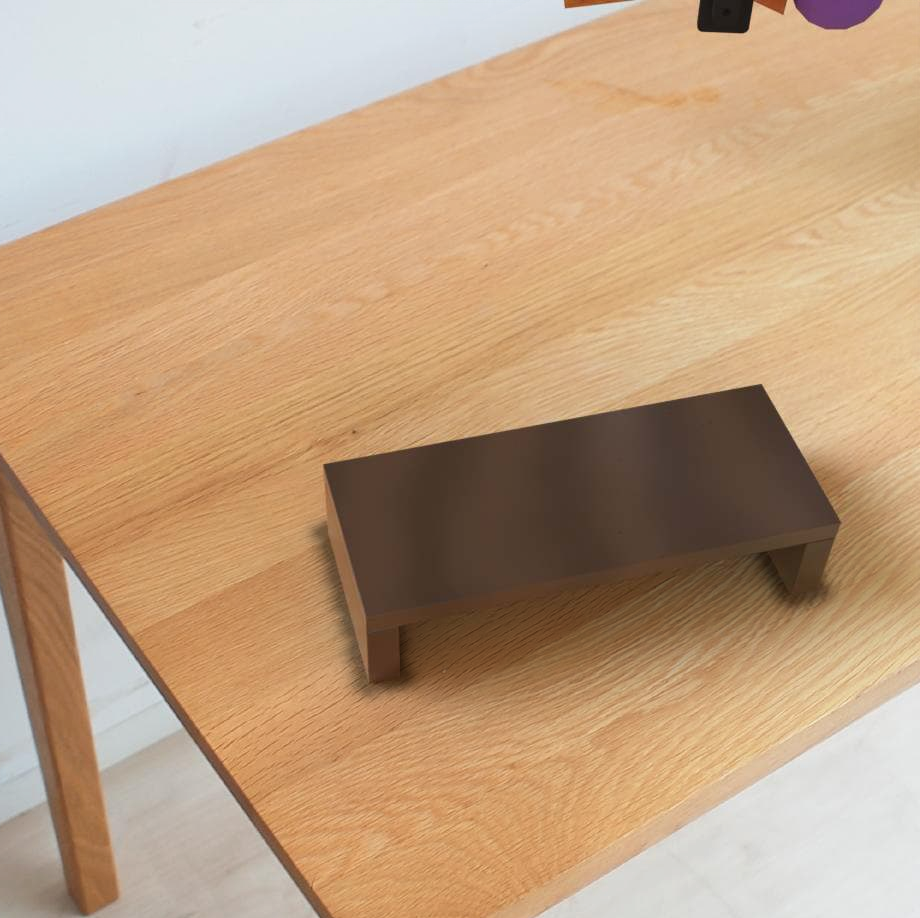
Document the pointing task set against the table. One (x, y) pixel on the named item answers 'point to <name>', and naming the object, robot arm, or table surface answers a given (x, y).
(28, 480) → the table surface
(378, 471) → the shelf
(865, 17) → the kendama
